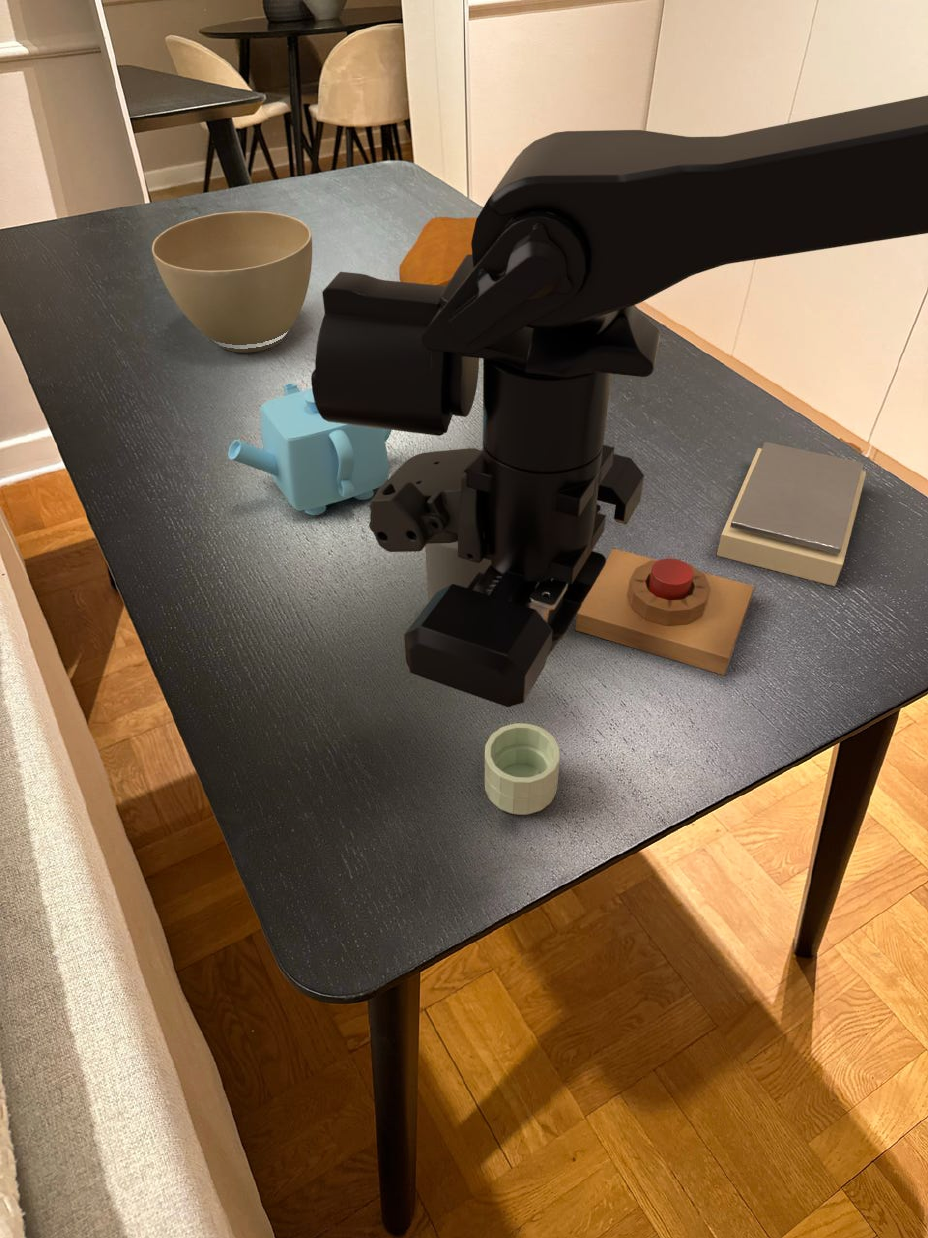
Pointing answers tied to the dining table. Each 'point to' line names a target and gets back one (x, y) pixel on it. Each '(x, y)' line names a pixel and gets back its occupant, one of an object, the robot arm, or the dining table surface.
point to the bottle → (449, 567)
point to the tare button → (671, 579)
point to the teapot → (315, 453)
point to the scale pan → (799, 497)
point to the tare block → (666, 613)
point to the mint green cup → (521, 768)
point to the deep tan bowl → (237, 274)
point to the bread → (438, 251)
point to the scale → (785, 547)
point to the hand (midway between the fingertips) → (529, 668)
